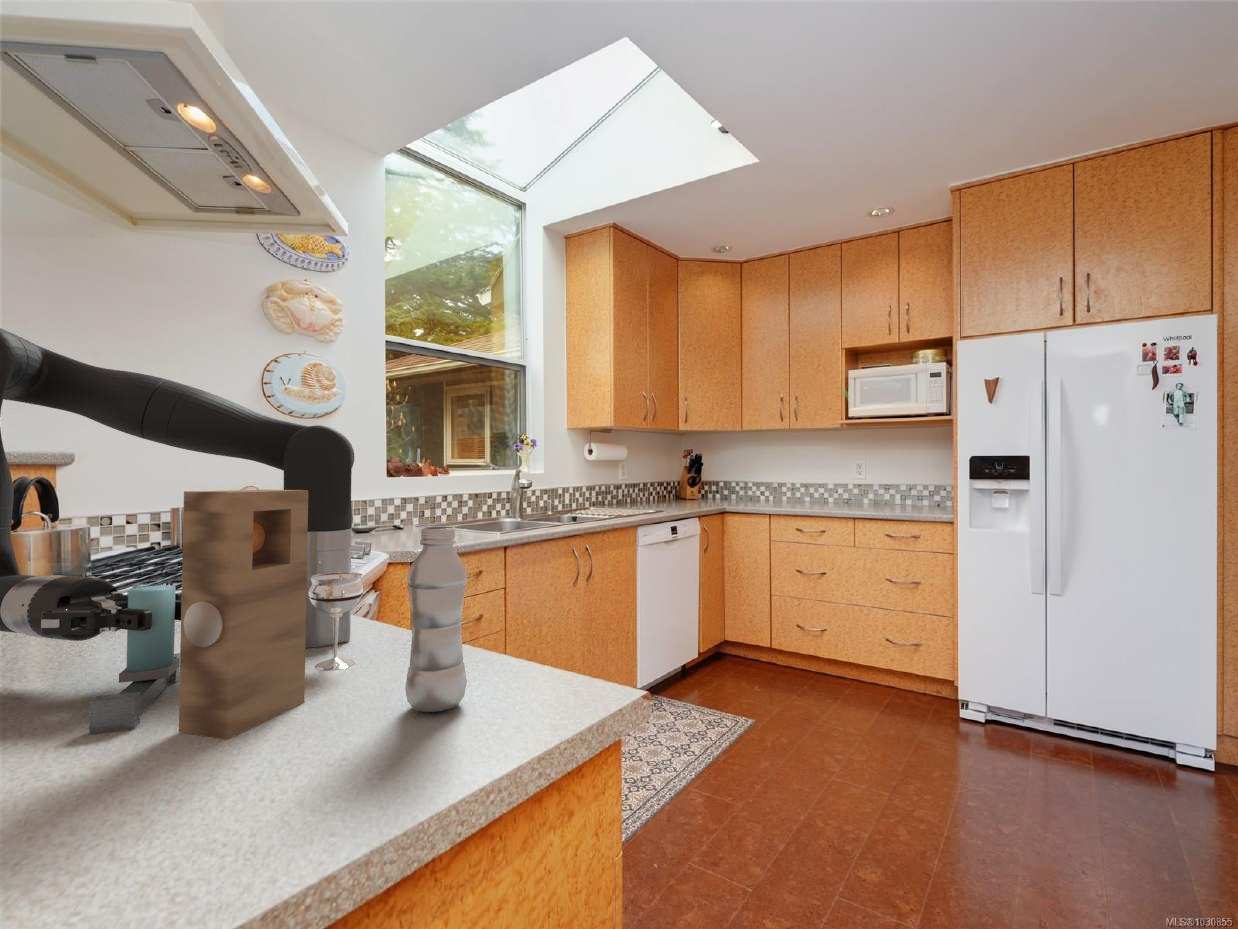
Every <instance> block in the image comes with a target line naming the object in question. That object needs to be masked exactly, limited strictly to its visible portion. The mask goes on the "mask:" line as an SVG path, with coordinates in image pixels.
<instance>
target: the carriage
mask: <svg viewBox="0 0 1238 929" xmlns="http://www.w3.org/2000/svg"><path fill="white" fill-rule="evenodd" d="M176 587H177V586H176V585H169V584H168V585H166V584H164V585H163V584H162V585H149V586H148V585H146V586H141V587H135V588H131V589H129V590H127V591H128V608H130V609H142V610H150V611H151V612H152V627H151V629H149V630H145V631H136V630H127V633H126V634H127V635H126V668H124V669H123V670H122V671H121V672H119V673H118V684H119V683H121V684H122V683H129V682H130V683H132V682H133V681H142V680H152V679H162V678H169V677H170V676H171V675H172V674H173V672H174V671H175V670H176V669H177V668H178V667H179V666H180V658H174V654H175V634H176V633H175V631H176V630H175V628H176V626H175V624H176V622H175V621H176V620H175V593H176Z"/></svg>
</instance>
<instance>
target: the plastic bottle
mask: <svg viewBox="0 0 1238 929" xmlns="http://www.w3.org/2000/svg"><path fill="white" fill-rule="evenodd" d="M420 534H421V535H420V536H421V538H420V541H419V544H420V546H421V545H422V549H421V551H420V552H419V554H417V556H416V557H415V558H414V561H413V562H412V563H411V565H410V566H409V570H408V572H407V575H406V581H407V582H406V584H407V586H408V587H407V589H408V591H407V592H408V599H409V605H410V615H411V625H412V627H411V645H410V646H411V647H410V657H409V666H408V668H407V674H406V681H405V687H404V688H405V694H406V700H407V702H408V704H409V706H410V707H411V709H413V710H415V711H418V712H422V713H435V712H442V711H446V710H450V709H452V708H454V707H457V706H458V705H459V704H460V703H461V701H462V700H463V699H464V697H465V694H466V690H467V689H466V688H467V682H468V680H467V672H466V666H465V662H464V656H463V654H464V653H463V642H462V641H463V638H462V627H463V626H462V621H463V607H464V600H465V596H466V595H465V594H466V588H467V580H468V573H467V570H466V566H465V564H464V562H463V561H462V559H461V558H460V556H459V555H458V553H457V552H456V551H455V550H454V545H456V544H457V539H456V527H455V526H445V525H444V526H441V525H439V526H435V525H434V526H426V527H425V526H423V527H421V533H420Z"/></svg>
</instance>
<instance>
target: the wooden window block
mask: <svg viewBox="0 0 1238 929" xmlns="http://www.w3.org/2000/svg"><path fill="white" fill-rule="evenodd" d="M182 513H183V515H182V516H183V519H182V560H181V561H182V565H181V566H182V567H181V595H182V598H181V620H180V643H179V644H180V648H179V649H180V679H179V692H178V693H179V696H178V699H179V700H178V733H179V734H187V735H194V736H200V737H201V736H202V737H209V738H216V739H221V740H229V739H231V738H233V737H235V736H237V735H239V734H241V733H244V732H245V731H248V730H250V729H253V728H254V727H256V726H259V725H260V724H263V723H264V722H267V721H268V720H270V719H273V718H275V717H277V716H279V715H281V714H283V713H285V712H287V711H289V710H292V709H294V708H295V707H297V706H300V705H301V704H304V703H305V689H306V688H305V687H306V686H305V684H306V680H305V679H306V678H305V677H306V647H305V642H306V589H307V535H308V490H284V489H237V490H235V489H234V490H233V489H231V490H194V491H193V490H192V491H191V490H190V491H187V490H186V491H183V512H182ZM253 523H258V524H260V525H261V526H262V527H263V529H264V531H265V541H264V544H263V546H262V547H261V548H260V549H259V550H258V551H256V552H254V553H253Z"/></svg>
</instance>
